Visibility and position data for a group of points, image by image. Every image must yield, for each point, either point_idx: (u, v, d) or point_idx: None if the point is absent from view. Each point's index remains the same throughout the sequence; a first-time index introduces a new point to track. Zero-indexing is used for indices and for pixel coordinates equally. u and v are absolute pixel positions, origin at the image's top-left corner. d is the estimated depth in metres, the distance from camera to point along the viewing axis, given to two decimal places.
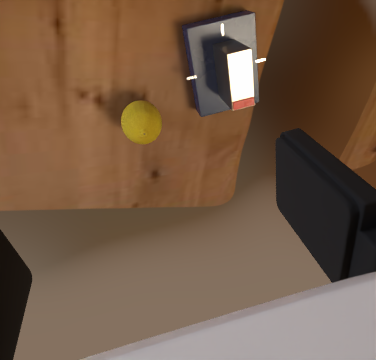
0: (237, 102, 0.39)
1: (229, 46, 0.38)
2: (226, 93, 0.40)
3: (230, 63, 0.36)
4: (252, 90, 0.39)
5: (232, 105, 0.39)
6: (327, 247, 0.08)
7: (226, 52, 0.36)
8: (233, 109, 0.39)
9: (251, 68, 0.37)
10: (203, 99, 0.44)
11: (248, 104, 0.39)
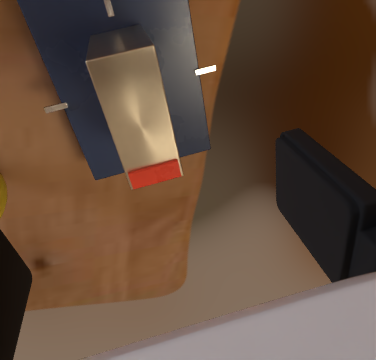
0: (138, 173, 0.16)
1: (113, 40, 0.16)
2: None
3: (101, 85, 0.14)
4: (173, 145, 0.16)
5: (128, 179, 0.17)
6: (327, 247, 0.08)
7: (90, 55, 0.14)
8: (132, 187, 0.17)
9: (162, 96, 0.15)
10: (93, 148, 0.22)
11: (166, 176, 0.17)
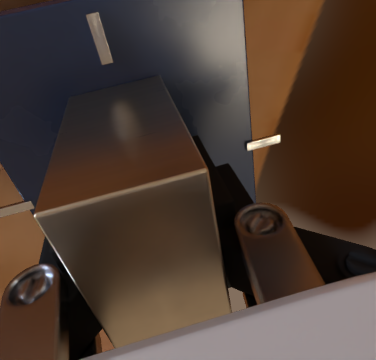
0: None
1: (109, 123, 0.08)
2: None
3: (75, 257, 0.06)
4: None
5: None
6: None
7: (51, 185, 0.06)
8: None
9: (215, 259, 0.07)
10: None
11: None
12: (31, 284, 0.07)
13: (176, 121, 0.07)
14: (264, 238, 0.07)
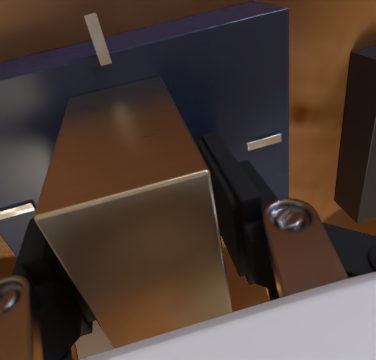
0: None
1: (110, 124, 0.08)
2: None
3: (76, 260, 0.06)
4: None
5: None
6: (230, 241, 0.09)
7: (51, 187, 0.06)
8: None
9: (216, 261, 0.07)
10: (3, 105, 0.10)
11: None
12: None
13: (177, 122, 0.07)
14: (292, 234, 0.07)
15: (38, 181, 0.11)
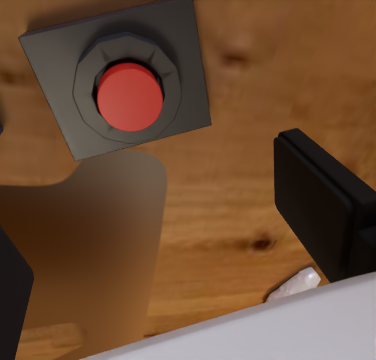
0: None
1: None
2: None
3: None
4: None
5: None
6: (325, 246, 0.08)
7: None
8: None
9: None
10: None
11: None
12: None
13: None
14: None
15: None
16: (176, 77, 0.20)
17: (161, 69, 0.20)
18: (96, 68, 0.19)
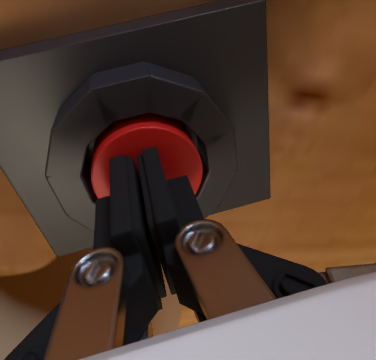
0: None
1: None
2: None
3: None
4: None
5: None
6: None
7: None
8: None
9: None
10: None
11: None
12: (96, 266, 0.07)
13: None
14: (208, 257, 0.06)
15: None
16: (231, 142, 0.12)
17: (206, 130, 0.11)
18: (89, 133, 0.10)
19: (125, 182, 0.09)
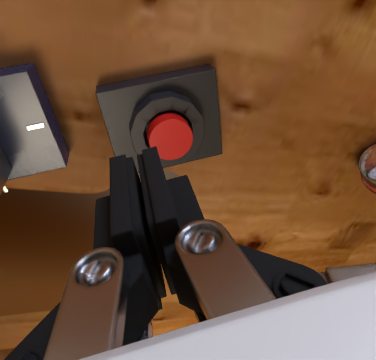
0: None
1: None
2: None
3: None
4: None
5: None
6: None
7: None
8: None
9: None
10: None
11: None
12: (96, 266, 0.07)
13: None
14: (208, 257, 0.07)
15: None
16: (202, 123, 0.29)
17: (192, 117, 0.29)
18: (148, 116, 0.28)
19: (125, 182, 0.09)
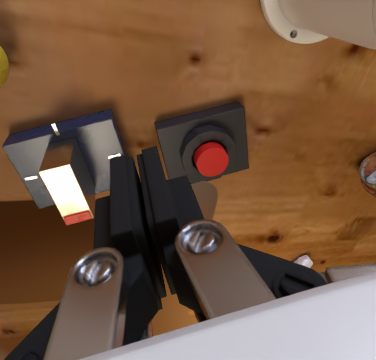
0: (68, 217, 0.33)
1: (56, 153, 0.32)
2: None
3: (46, 180, 0.30)
4: (85, 204, 0.33)
5: (64, 220, 0.33)
6: None
7: (41, 167, 0.30)
8: (66, 223, 0.33)
9: (76, 183, 0.31)
10: (29, 146, 0.34)
11: (83, 218, 0.33)
12: (96, 266, 0.07)
13: (70, 153, 0.32)
14: (208, 257, 0.06)
15: (38, 168, 0.36)
16: (234, 148, 0.39)
17: (227, 144, 0.38)
18: (195, 145, 0.37)
19: (125, 182, 0.09)
